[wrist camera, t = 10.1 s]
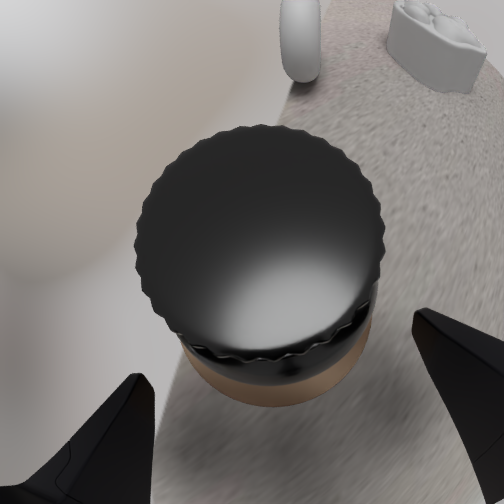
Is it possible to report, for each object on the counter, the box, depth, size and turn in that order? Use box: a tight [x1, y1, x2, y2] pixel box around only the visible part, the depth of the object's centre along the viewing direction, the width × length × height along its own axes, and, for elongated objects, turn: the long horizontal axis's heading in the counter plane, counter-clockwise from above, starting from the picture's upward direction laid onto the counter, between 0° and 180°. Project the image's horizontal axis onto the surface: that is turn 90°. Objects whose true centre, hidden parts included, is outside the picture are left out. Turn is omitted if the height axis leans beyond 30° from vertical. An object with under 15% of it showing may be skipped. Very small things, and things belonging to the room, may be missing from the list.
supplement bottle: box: [134, 124, 386, 386], centre depth 10 cm, size 7×7×12 cm
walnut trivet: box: [181, 316, 372, 407], centre depth 17 cm, size 12×12×1 cm
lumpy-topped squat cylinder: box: [387, 0, 487, 94], centre depth 20 cm, size 10×13×9 cm
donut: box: [279, 0, 321, 83], centre depth 19 cm, size 10×3×10 cm, turn 170°
